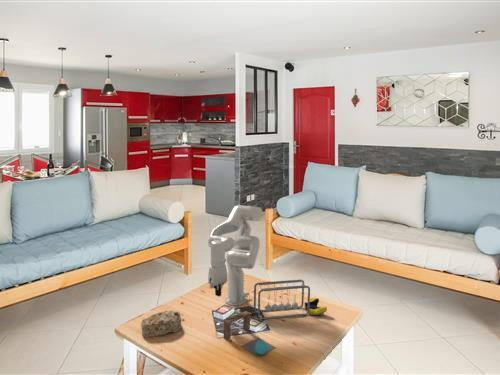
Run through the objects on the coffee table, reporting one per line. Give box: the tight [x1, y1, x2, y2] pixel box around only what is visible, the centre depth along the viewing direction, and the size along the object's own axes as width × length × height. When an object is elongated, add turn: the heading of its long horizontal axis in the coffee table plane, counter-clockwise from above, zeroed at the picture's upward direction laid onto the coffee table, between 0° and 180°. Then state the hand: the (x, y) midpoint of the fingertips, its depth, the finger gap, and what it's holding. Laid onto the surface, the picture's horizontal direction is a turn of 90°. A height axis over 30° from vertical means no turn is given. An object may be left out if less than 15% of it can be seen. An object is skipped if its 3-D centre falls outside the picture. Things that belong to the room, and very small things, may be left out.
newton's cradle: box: [253, 279, 311, 320], centre depth 232 cm, size 30×10×18 cm, turn 103°
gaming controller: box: [303, 297, 328, 316], centre depth 237 cm, size 15×6×10 cm
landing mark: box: [240, 337, 277, 358], centre depth 199 cm, size 12×12×1 cm
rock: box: [140, 310, 182, 338], centre depth 214 cm, size 21×14×10 cm
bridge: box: [223, 310, 251, 341], centre depth 210 cm, size 3×15×10 cm, turn 132°
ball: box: [255, 340, 268, 356], centre depth 193 cm, size 6×6×6 cm
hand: (218, 295), depth 223 cm, fingers closed
